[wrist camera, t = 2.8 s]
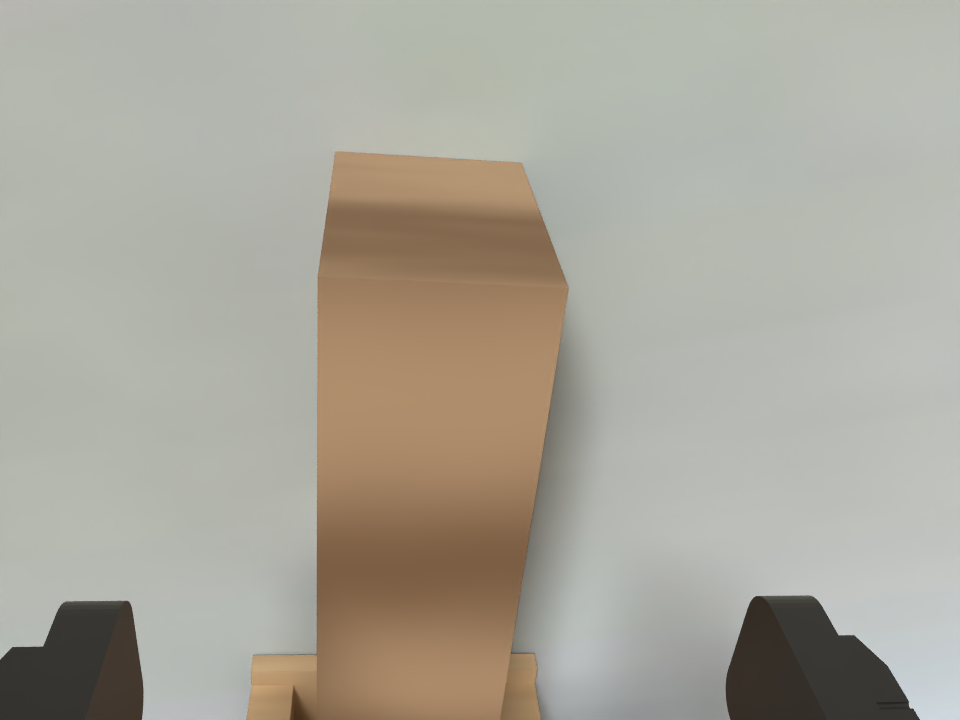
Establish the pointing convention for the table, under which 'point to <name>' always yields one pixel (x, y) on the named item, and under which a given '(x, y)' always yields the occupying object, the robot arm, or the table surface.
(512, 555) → the light brown wooden block
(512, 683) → the wooden chair
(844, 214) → the table surface
